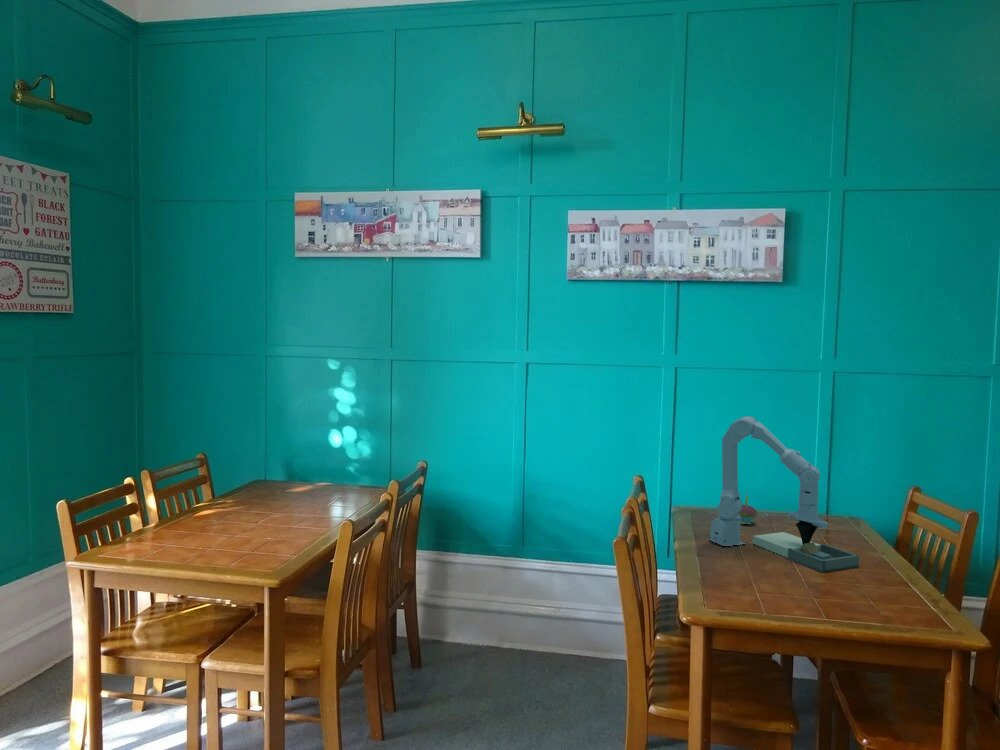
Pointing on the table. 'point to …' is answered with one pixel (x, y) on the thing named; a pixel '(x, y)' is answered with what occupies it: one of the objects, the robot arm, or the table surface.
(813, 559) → the bin
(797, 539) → the large sage green panel
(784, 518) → the table surface
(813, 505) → the robot arm
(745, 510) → the cupcake
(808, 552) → the tile
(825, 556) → the tile
